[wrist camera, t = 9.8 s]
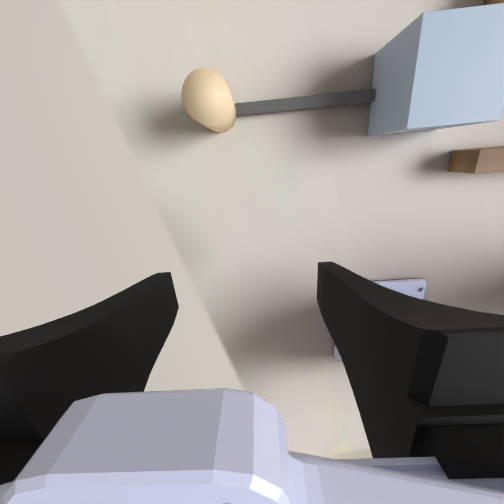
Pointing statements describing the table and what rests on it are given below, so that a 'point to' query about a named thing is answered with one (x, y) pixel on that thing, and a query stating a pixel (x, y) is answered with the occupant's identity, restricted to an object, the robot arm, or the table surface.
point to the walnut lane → (478, 151)
